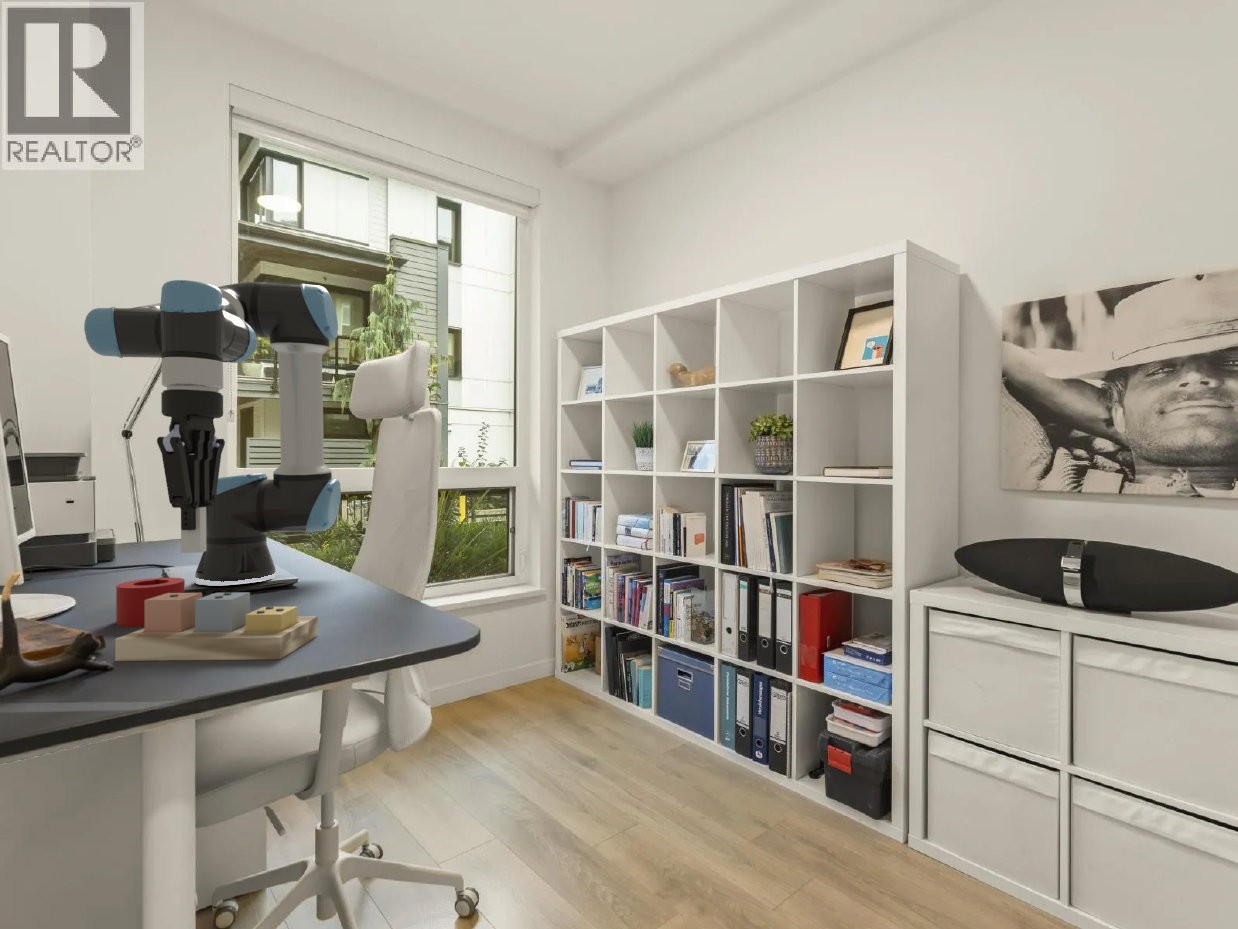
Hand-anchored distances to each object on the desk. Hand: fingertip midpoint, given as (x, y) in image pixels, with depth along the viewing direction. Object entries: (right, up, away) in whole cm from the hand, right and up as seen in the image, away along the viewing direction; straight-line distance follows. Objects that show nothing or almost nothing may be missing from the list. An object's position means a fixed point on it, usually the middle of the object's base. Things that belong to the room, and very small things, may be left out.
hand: (193, 551), depth 94 cm
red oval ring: (-19, -14, +20) cm, 31 cm away
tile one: (-3, -11, 0) cm, 12 cm away
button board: (+4, -14, 0) cm, 15 cm away
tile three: (+11, -14, 0) cm, 18 cm away
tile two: (+4, -12, 0) cm, 12 cm away
